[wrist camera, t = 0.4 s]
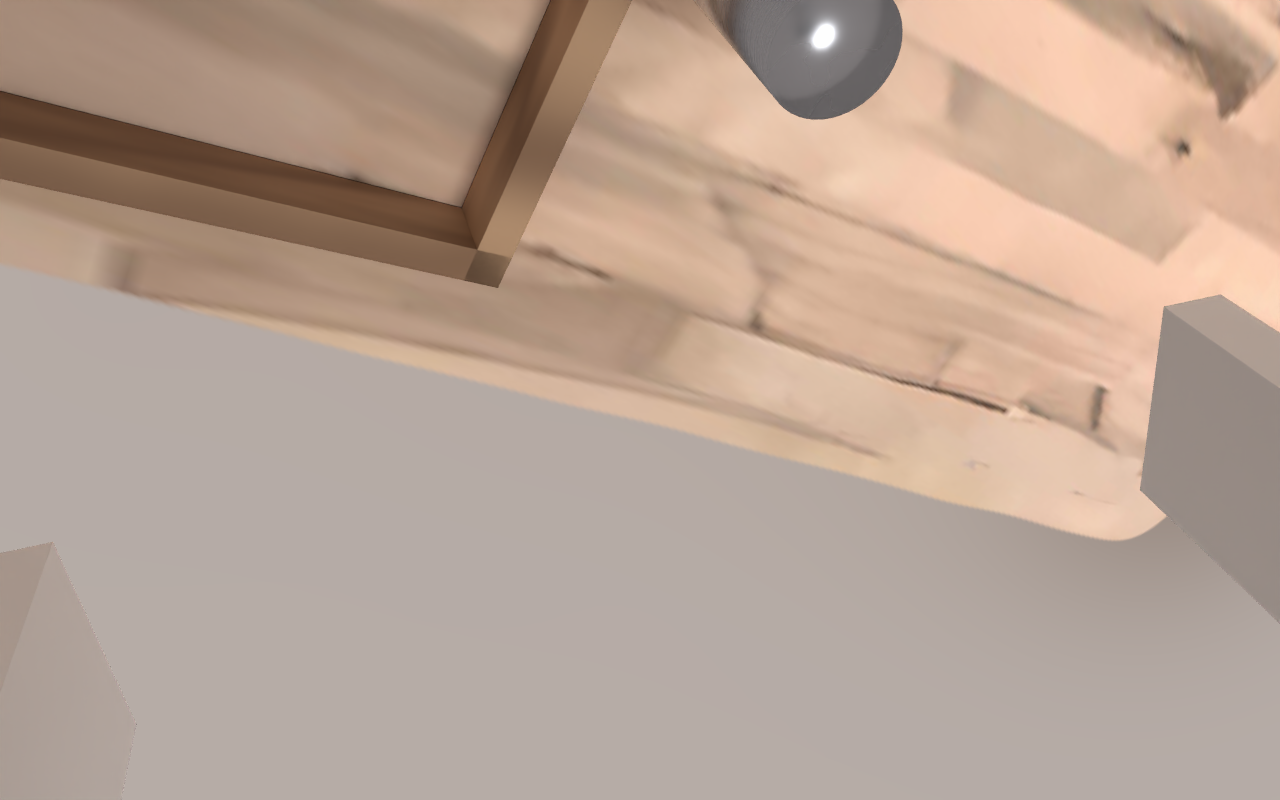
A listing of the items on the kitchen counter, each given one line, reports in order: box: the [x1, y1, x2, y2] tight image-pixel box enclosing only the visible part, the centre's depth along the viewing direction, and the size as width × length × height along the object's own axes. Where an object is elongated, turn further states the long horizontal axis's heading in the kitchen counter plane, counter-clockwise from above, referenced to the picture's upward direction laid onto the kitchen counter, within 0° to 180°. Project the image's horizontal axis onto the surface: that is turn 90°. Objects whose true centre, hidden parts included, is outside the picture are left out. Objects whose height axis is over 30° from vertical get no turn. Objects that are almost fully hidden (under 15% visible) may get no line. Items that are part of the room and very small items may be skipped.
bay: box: [0, 0, 632, 288], centre depth 32 cm, size 11×19×2 cm, turn 63°
